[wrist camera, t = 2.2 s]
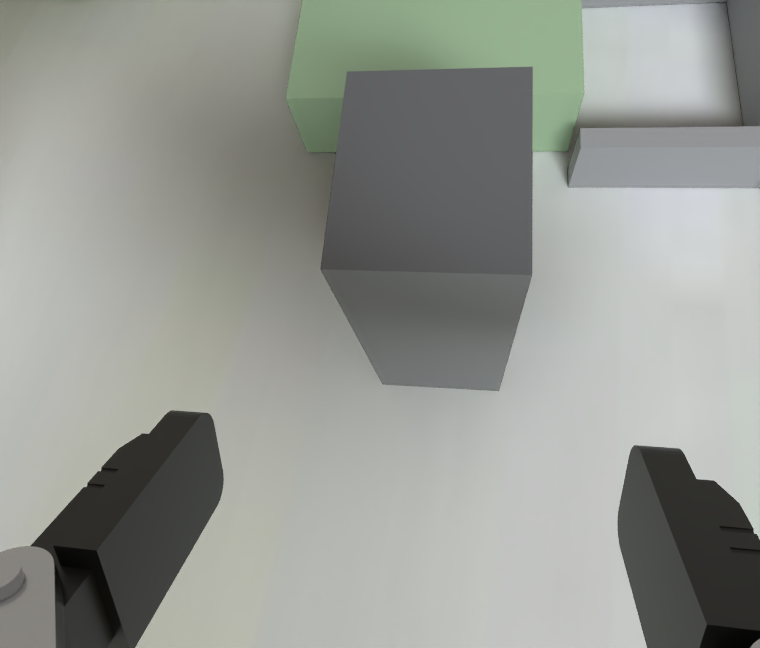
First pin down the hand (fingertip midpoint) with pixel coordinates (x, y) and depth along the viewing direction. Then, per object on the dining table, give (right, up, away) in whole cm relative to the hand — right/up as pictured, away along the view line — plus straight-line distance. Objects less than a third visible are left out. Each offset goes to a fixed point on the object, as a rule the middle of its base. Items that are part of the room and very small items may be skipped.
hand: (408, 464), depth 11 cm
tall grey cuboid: (+2, +3, +15) cm, 15 cm away
